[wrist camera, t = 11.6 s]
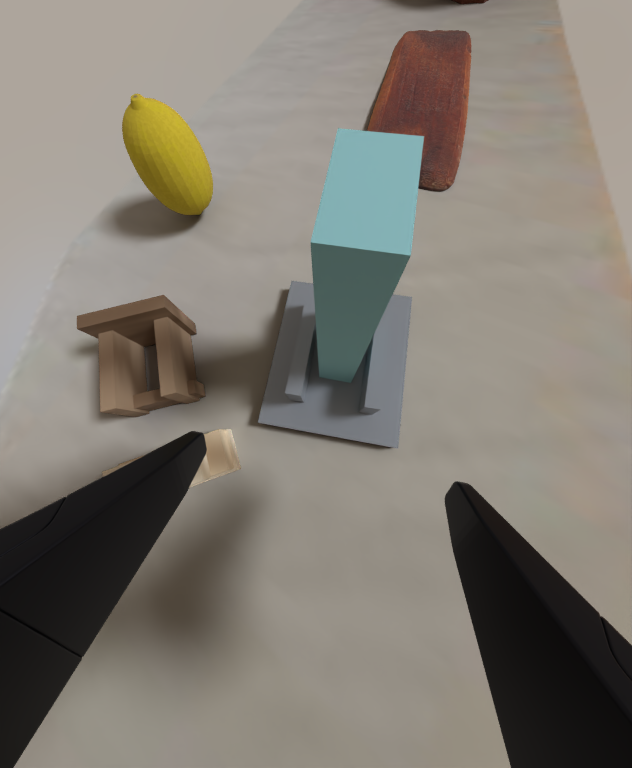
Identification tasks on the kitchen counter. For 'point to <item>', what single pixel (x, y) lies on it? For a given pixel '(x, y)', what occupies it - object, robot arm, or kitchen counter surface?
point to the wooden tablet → (428, 100)
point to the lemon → (167, 156)
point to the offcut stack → (210, 457)
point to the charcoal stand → (332, 397)
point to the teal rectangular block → (361, 241)
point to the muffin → (469, 1)
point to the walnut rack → (143, 355)
